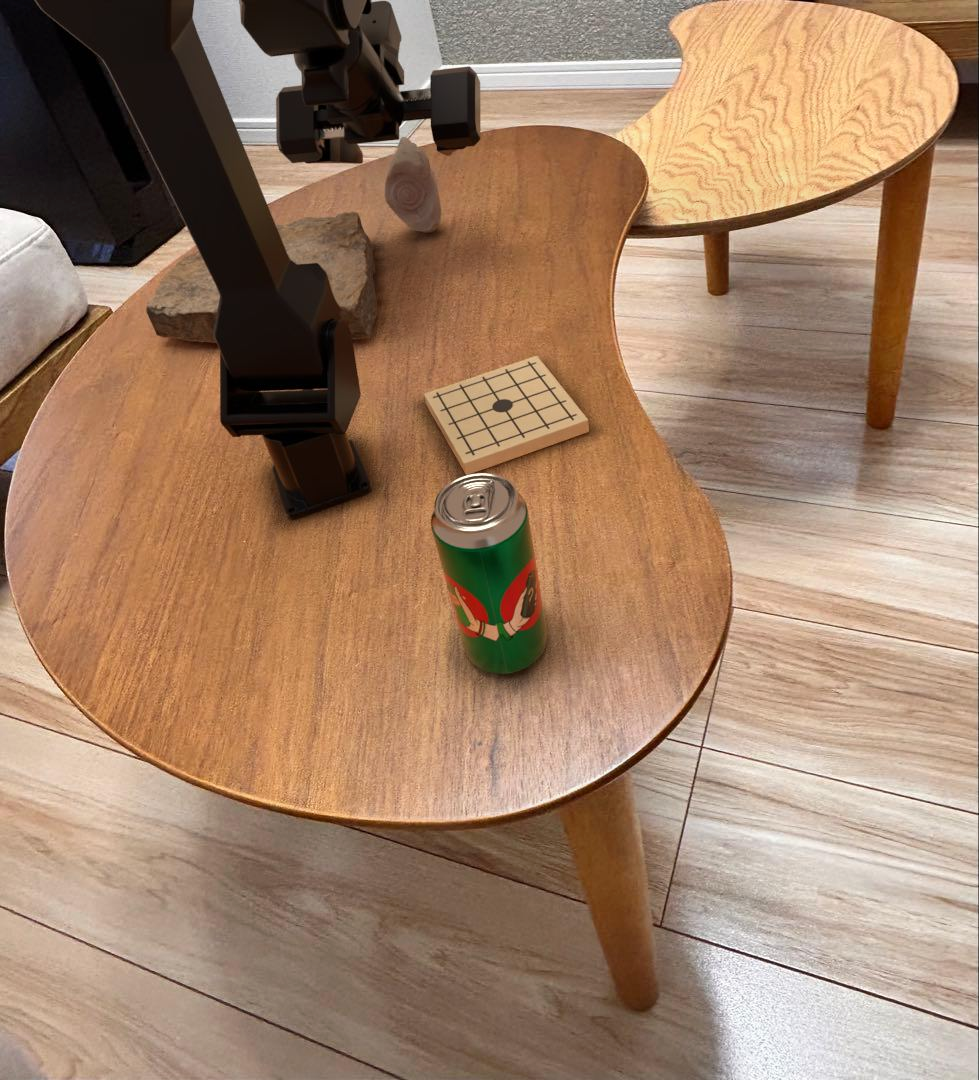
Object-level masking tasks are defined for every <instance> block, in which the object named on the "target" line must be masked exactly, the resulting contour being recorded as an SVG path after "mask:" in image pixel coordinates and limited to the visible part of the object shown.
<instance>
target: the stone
mask: <svg viewBox="0 0 979 1080" xmlns="http://www.w3.org/2000/svg"><path fill="white" fill-rule="evenodd" d="M362 224H363V223H362V220H361V217H360V215H359V213H358V212H356V211H350V212H348V211H345V212H344V211H343V212H342V213H338V214H337V215H336V216H327V217H311V216H310V217H309V216H306V217H304V218H300V219H297V220H294V221H292V222H291V223H289V224H285V225H284V224H275V225H276V227H277V230H278V232H279V235H280V237H281V240H282V242H283V244H284V247H285V249H286V252H287V254H288V256H289V258H290V259H291V260H292V261H293V262H295V263H296V264H309V263H318V264H319V265H320V266H321V267H322V268H323V269H324V271H325V272H326V273H327V276H328V279H329V283H330V286H331V289H332V292H333V295H334V297H335V300H336V302H337V303H338V304H339V306H340V307H341V313H340V315H341V317H342V320H344V321H346V323H347V324H348V326H349V328H350V332H351V335H352V340H360V339H369V338H371V337H372V336H373V327H374V325H375V323H376V317H377V315H378V313H379V307H378V303H377V300H378V299H377V296H376V285H375V280H374V278H373V277H374V274H375V273H376V263H375V258H374V250H375V246H374V244H373V243H372V241H371V239H370V237H369V236H368V234H367V233H366V231H365V229H364V227H363V225H362ZM219 299H220V294H219V292H218V289H217V287H216V285H215V283H214V281H213V279H212V277H211V275H210V273H209V271H208V269H207V267H206V265H205V263H204V261H203V259H202V257H201V255H200V253H199V251H198V250H197V251H196V252H194V253H191V254H185V255H184V257H183V258H182V259H181V260H180V261H178V262H177V263H176V264H175V265H174V266H173V267H171V268H170V270H168V272H167V273H166V274H165V275H164V276H163V277H162V279H161V281H160V283H159V284H158V285H157V288H156V289H155V294H154V295H153V296H151V297H150V298H149V299H148V301H147V303H146V307H145V308H146V309H145V311H146V314H147V317H148V318H149V321H150V323H151V325H152V327H153V330H154V333H155V334H156V336H158V337H161V338H165V339H166V338H173V339H178V340H182V341H188V342H199V343H204V342H205V343H215V344H217V342H216V340H215V337H214V327H215V321H216V316H217V310H218V305H219Z"/></svg>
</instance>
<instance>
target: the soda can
mask: <svg viewBox="0 0 979 1080" xmlns="http://www.w3.org/2000/svg"><path fill="white" fill-rule="evenodd" d="M430 528H431V531H432V536H433V539H434V544H435V547H436V550H437V553H438V558H439V561H440V565H441V569H442V572H443V576H444V580H445V584H446V587H447V591H448V595H449V598H450V602H451V605H452V609H453V613H454V617H455V620H456V624H457V628H458V632H459V635H460V639H461V642H462V646H463V650H464V653H465V655H466V657H467V659H468V660H469V661H470V662H471V664H472V665H474V666H475V667H477V668H478V669H479V670H482V671H484V672H487V673H492V674H497V675H498V674H499V675H504V674H505V675H507V674H508V675H509V674H513V673H516V672H519V671H522V670H524V669H526V668H528V667H530V666H531V665H533V663H536V661H537V660H538V659H539V658H540V657H541V656H542V654H543V653H544V651H545V649H546V646H547V642H548V630H547V625H546V618H545V617H546V616H545V611H544V606H543V599H542V593H541V585H540V580H539V573H538V567H537V560H536V555H535V548H534V541H533V535H532V529H531V521H530V515H529V508H528V505H527V503H526V501H525V498H524V497H523V496H522V495H521V494H520V493H519V492H518V490H517V488H516V487H515V485H514V484H513V483H512V482H511V481H510V480H509V479H508V478H506V477H503V476H501V475H499V474H495V473H490V472H475V473H472V474H469V475H466V474H465V475H463V476H460V477H458V478H455V479H453V480H452V481H450V482H449V483H448V484H446V485H445V486H444V487H442V489H441V490H440V491H439V492H438V494H437V496H436V498H435V500H434V506H433V512H432V514H431V519H430Z"/></svg>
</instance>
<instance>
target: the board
mask: <svg viewBox="0 0 979 1080" xmlns="http://www.w3.org/2000/svg"><path fill="white" fill-rule="evenodd" d="M423 396H424V400H425V405H426V407H427V409H428V411H429V412H430V414H431V416H432V418H433V419H434V421H435V423H436V425H437V427H438V428H439V430H440V432H441V434H442V435H443V437H444V439H445V440H446V443H447V444H448V446H449V447H450V449H451V451H452V453H453V455H454V456H455V458H456V460H457V462H458V463H459V465H460V467H461V469H462V471H463V472H464V474H465V476H466V475H469V474H475V473H479V472H480V471H483V470H486V469H488V468H491V467H495V466H497V465H500V464H503V463H506V462H508V461H511V460H514V459H517V458H520V457H522V456H525V455H528V454H532V453H533V452H536V451H539V450H542V449H545V448H548V447H550V446H554V445H556V444H559V443H561V442H564V441H567V440H569V439H573V438H577V437H579V436H582V435H585V434H587V433H589V432H590V427H589V419H588V417H587V416H586V415H585V414H584V412H583V411H582V410H581V409H580V408H579V406H578V405H577V404H576V402H575V401H574V400H573V398H572V397H571V396H570V395H569V394H568V392H567V391H566V390H565V389H564V387H563V386H562V385H561V384H560V382H559V381H558V380H557V378H555V376H554V375H553V374H552V372H551V371H550V370H549V368H547V366H546V365H545V364H544V362H543V361H542V360H541V358H540V357H539V356H538V355H534V356H531V357H528V358H526V359H522V360H519V361H517V362H513V363H511V364H508V365H505V366H502V367H498V368H496V369H493V370H490V371H487V372H484V373H481V374H478V375H475V376H472V377H469V378H466V379H463V380H460V381H458V382H455V383H452V384H448V385H445V386H443V387H440V388H436V389H434V390H431V391H427V392H425V393H424V394H423Z"/></svg>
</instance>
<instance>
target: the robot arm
mask: <svg viewBox="0 0 979 1080" xmlns="http://www.w3.org/2000/svg"><path fill="white" fill-rule="evenodd" d="M34 2H35V3H36V5H37V6H38V7H39V9H40V10H41V11H42V12H43V13H44V14H46V15H47V17H49V18H50V19H52V20H53V21H54V22H56V23H57V24H58V25H59V26H60V27H62V28H63V30H65V31H66V32H68V33H69V34H70V35H72V36H73V37H74V38H75V39H77V40H78V41H79V42H80V43H82V44H83V45H84V46H85V47H87V48H88V49H89V50H91V52H93V53H94V54H95V55H97V56H98V57H99V58H100V59H101V61H102V62H103V64H104V66H105V67H106V69H107V71H108V72H109V73H108V74H109V75H110V77H111V79H112V81H113V83H114V85H115V87H116V90H117V91H118V92H119V95H120V97H121V99H122V101H123V103H124V105H125V107H126V109H127V111H128V112H129V115H130V118H131V119H132V121H133V123H134V125H135V127H136V129H137V130H138V133H139V135H140V136H141V139H142V140H143V143H144V145H145V146H146V149H147V151H148V152H149V155H150V157H151V159H152V161H153V163H154V166H155V167H156V168H157V171H158V172H159V175H160V177H161V179H162V181H163V183H164V185H165V187H166V189H167V191H168V193H169V195H170V197H171V199H172V200H173V203H174V205H175V207H176V210H177V211H178V212H179V215H180V217H181V219H182V221H183V223H184V225H185V226H186V229H187V231H188V233H189V235H190V236H191V239H192V241H193V243H194V245H195V247H196V249H197V252H198V251H199V253H200V255H201V257H202V259H203V261H204V263H205V265H206V267H207V269H208V271H209V273H210V275H211V277H212V279H213V281H214V283H215V285H216V287H217V289H218V292H219V294H220V299H219V305H218V310H217V316H216V321H215V327H214V337H215V340H216V342H217V343H216V344H217V347H218V350H219V374H220V375H219V420H220V424H221V425H222V426H223V428H224V429H225V430H226V431H227V432H228V433H229V434H230V436H231V437H232V438H241V437H245V436H248V437H249V436H261V437H262V439H263V442H264V444H265V447H266V449H267V451H268V454H269V456H270V459H271V461H272V463H273V466H272V472H273V475H274V477H275V482H276V485H277V489H278V493H279V495H280V498H281V502H282V505H283V508H284V512H285V514H286V516H287V518H288V519H290V520H291V519H292V520H293V519H297V518H299V517H302V516H305V515H308V514H310V513H314V512H316V511H319V510H322V509H324V508H327V507H330V506H333V505H336V504H339V503H342V502H345V501H347V500H350V499H353V498H356V497H360V496H362V495H364V494H367V493H370V492H371V490H372V484H371V481H370V479H369V476H368V474H367V472H366V469H365V467H364V465H363V463H362V461H361V457H360V455H359V453H358V451H357V448H356V447H355V444H354V441H353V440H351V439H349V438H348V435H347V431H348V428H349V426H350V424H351V421H352V419H353V416H354V413H355V411H356V409H357V406H358V405H359V402H360V398H361V396H362V395H361V392H362V391H361V386H360V380H359V373H358V368H357V360H356V353H355V348H354V347H355V346H354V341H353V340H354V339H352V335H351V332H350V328H349V326H348V324H347V323H346V321H344V320H342V317H341V315H340V313H341V307H340V306H339V304H338V303H337V302H336V300H335V297H334V295H333V292H332V289H331V286H330V283H329V279H328V276H327V273H326V272H325V271H324V269H323V268H322V267H321V266H320V265H319V264H318V263H309V264H296V263H295V262H293V261H292V260H291V259H290V258H289V256H288V254H287V252H286V249H285V247H284V244H283V242H282V240H281V237H280V235H279V232H278V230H277V227H276V225H277V224H276V223H275V220H274V217H273V214H272V213H271V210H270V208H269V205H268V202H267V200H266V198H265V196H264V193H263V191H262V188H261V185H260V183H259V181H258V178H257V176H256V174H255V171H254V168H253V166H252V163H251V161H250V158H249V156H248V153H247V150H246V148H245V145H244V144H243V141H242V139H241V137H240V134H239V131H238V130H237V129H238V128H237V126H236V124H235V122H234V119H233V116H232V114H231V112H230V109H229V107H228V104H227V102H226V99H225V97H224V94H223V92H222V90H221V87H220V85H219V82H218V80H217V78H216V75H215V73H214V70H213V67H212V65H211V62H210V60H209V57H208V55H207V53H206V50H205V48H204V45H203V43H202V39H201V38H200V35H199V33H198V30H197V28H196V25H195V21H194V19H193V18H194V17H193V16H194V9H195V8H194V7H195V6H194V5H195V0H34ZM238 5H239V12H240V13H239V14H240V25H242V27H243V28H244V30H246V32H247V33H248V35H249V36H250V37H251V38H252V40H253V41H254V42H255V44H256V45H257V46H258V47H259V49H260V50H261V51H262V52H263V53H264V54H265V55H267V56H269V57H270V58H271V57H280V56H288V55H293V59H294V63H295V66H296V67H297V69H298V70H299V71H300V73H301V85H292V86H284V87H282V88H281V89H280V91H279V92H278V94H277V96H276V98H275V123H276V124H275V125H276V126H275V127H276V128H275V130H276V131H275V132H276V133H275V134H276V138H275V139H276V141H275V142H276V144H277V145H276V146H277V148H278V151H279V152H280V153H281V154H282V155H283V156H284V157H285V158H286V159H287V160H289V162H290V163H292V164H298V163H305V164H348V165H349V164H355V165H361V164H363V163H364V155H363V154H364V153H363V151H362V149H361V148H360V146H359V144H368V143H369V144H370V143H379V142H388V141H389V142H390V141H400V127H401V126H402V124H403V122H409V121H410V122H411V121H418V120H419V121H420V120H430V130H431V135H432V141H433V143H434V144H435V146H436V151H437V152H438V153H440V154H442V155H444V156H452V155H453V153H454V152H457V151H458V150H465V149H467V147H475V146H477V144H478V143H479V142H480V140H481V139H482V138H481V132H482V131H481V130H482V129H481V80H480V78H479V76H478V73H477V72H476V71H475V70H474V69H473V68H472V67H471V66H470V65H469V66H468V65H467V66H461V67H451V68H445V69H444V68H442V69H435V70H432V72H431V74H430V79H429V81H430V83H429V84H430V85H429V86H430V87H429V88H418V89H410V90H402V91H400V86H403V85H405V69H404V68H403V66H402V64H401V63H400V61H399V55H400V54H399V53H400V45H401V42H402V34H401V31H400V28H399V24H398V22H397V18H396V16H395V12H394V9H393V6H392V4H391V3H390V2H389V1H388V0H377V1H372V0H238Z"/></svg>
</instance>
